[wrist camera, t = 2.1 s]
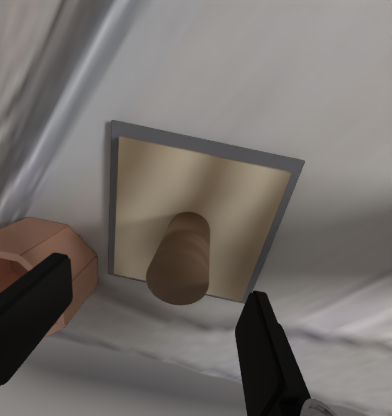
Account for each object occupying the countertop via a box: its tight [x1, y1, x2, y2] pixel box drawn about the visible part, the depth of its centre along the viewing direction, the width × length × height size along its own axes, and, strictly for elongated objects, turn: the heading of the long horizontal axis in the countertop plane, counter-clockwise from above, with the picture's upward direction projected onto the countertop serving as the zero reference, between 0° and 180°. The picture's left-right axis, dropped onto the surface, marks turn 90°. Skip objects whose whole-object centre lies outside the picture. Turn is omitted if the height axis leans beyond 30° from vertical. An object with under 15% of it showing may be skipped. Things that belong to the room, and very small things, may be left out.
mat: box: [108, 120, 305, 304], centre depth 17 cm, size 15×15×1 cm
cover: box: [114, 136, 291, 305], centre depth 14 cm, size 13×13×7 cm
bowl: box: [0, 217, 97, 338], centre depth 18 cm, size 10×10×5 cm
